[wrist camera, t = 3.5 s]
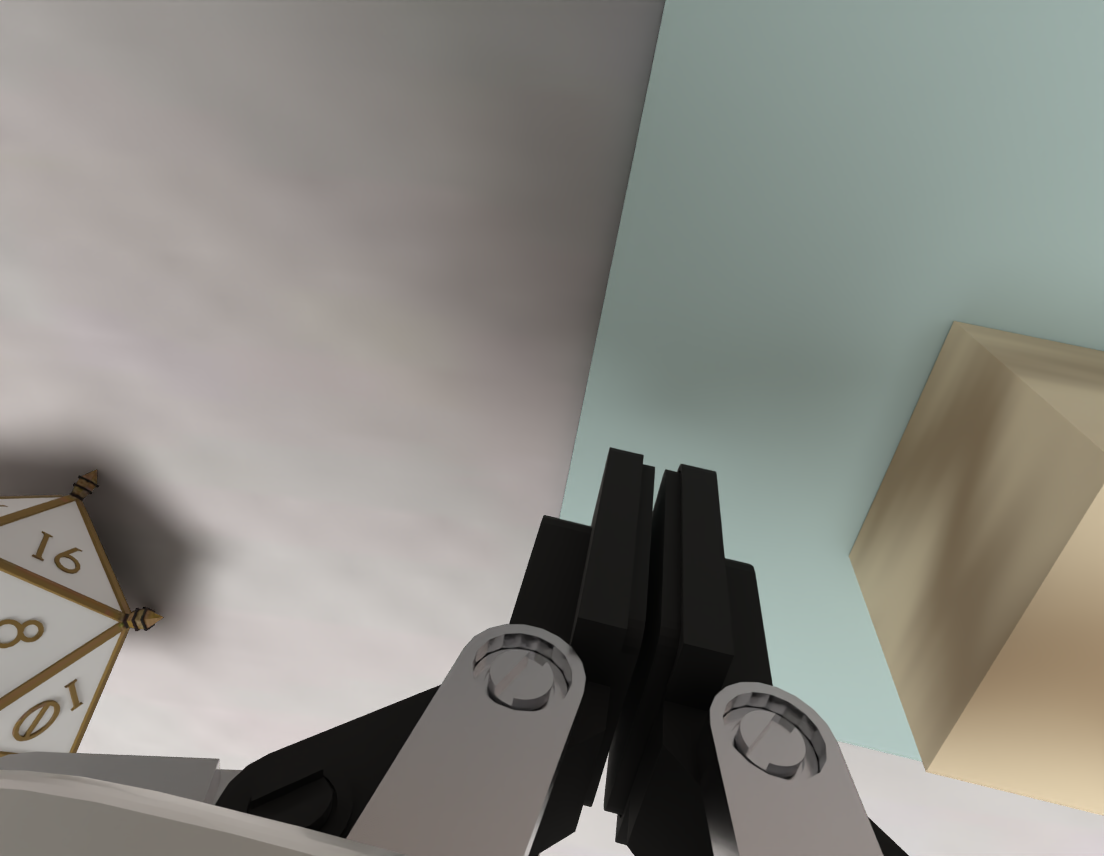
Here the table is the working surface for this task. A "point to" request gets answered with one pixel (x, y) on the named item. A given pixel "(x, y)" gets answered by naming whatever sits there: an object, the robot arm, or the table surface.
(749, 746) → the robot arm
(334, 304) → the table surface
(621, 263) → the mat
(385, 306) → the table surface
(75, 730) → the game die
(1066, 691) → the block
